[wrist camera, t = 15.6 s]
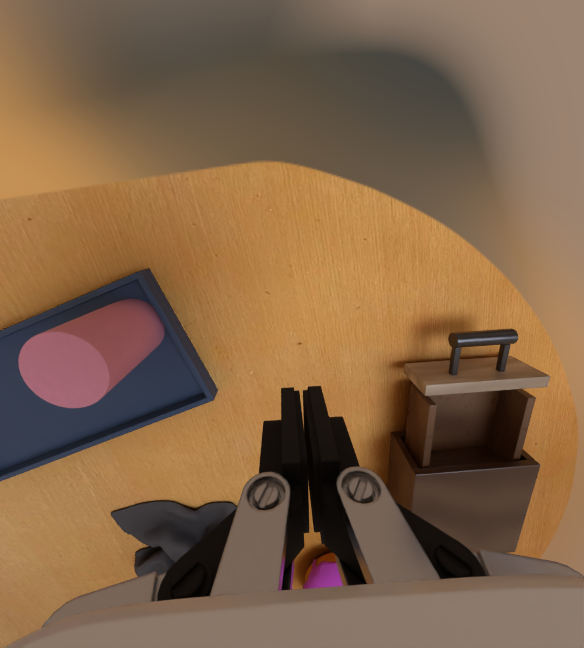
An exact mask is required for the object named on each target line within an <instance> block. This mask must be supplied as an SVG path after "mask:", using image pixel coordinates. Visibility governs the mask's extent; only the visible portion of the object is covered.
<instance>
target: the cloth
mask: <svg viewBox="0 0 584 648" xmlns="http://www.w3.org/2000/svg"><path fill="white" fill-rule="evenodd" d="M236 508H237V507H236V506H235V505H234V504H231V503H224V502H213V503H210V504H206V505H204V506H203V507H201V508H199V509H197V510H192V509H189V508H187V507H184V506H182V505H180V504H177V503H175V502H172V501H153V502H146V503H141V504H137V505H134V506H131V507H127V508H124V509H120V510H117V511H114V512H112V513H111V516H112V517H113V519H114V520H115V521H116V523H117V524H118V525H119V526H120V527H121V529H122V530H123V531H124V532H126V533H127V534H131V535H132V536H134V537H135V538H136V539H138V540H139V541H140V542H142V543H144V544H146V545H149V546H150V547H147V548H144V549H141V550H139V551H137V552H136V554H135V556H136V560H135V565H134V567H135V572H136V574H137V576H138V577H140V576H143V575H146V574H149V573H152V572H155V571H156V572H157V575H160V574H163V573H166V572H167V571H168V570H169V569H170V568H171V567H172V566H173V564H174V563H175V562H176V561H177V560H179V559H180V558H181V557H182V556H183V555H184V554H185V553H186V552H188V551H189V550H190V549H191V548H192V547H193V546H194V545H196V544H197V543H198V542H199V541H200V540H201V539H202V538H203V537H205V536H206V535H207V534H208V533H209V532H210V531H211V530H212V529H214V528H215V527H216V526H217V525H218V524H219V523H220V522H222V521H223V520H224V519H225V518H226V517H227V516H228V515H229V514H231V513H232V512H233V511H234V510H235V509H236Z"/></svg>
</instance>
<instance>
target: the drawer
mask: <svg viewBox="0 0 584 648" xmlns="http://www.w3.org/2000/svg"><path fill="white" fill-rule="evenodd" d="M448 340H449V344H450V346H451V347H452V351H451V358H450V360H447V361H433V362H419V363H405V366H404V373H405V374H406V375H407V377H408V378H409V379H410V380H411V381H412V382H413V383H414V384H410V393H409V404H408V415H407V426H406V437H405V446H406V448H407V449H408V451H409V453H410V454H411V456H412V458H413V459H414V461H415V463H416V464H417V466H418V468H419V469H422V468H435V467H447V466H459V465H472V464H484V463H496V462H508V461H519V460H520V456H521V453H522V449H523V445H524V441H525V437H526V433H527V430H528V426H529V422H530V418H531V414H532V410H533V406H534V403H535V399H536V398H535V397H534V396H532V395H531V394H529V393H528V392H526V391H524V390H523V389H525V388H538V387H547V386H548V383H549V379H550V376H549V375H547V374H545V373H543V372H541V371H539V370H537V369H535V368H533V367H531V366H529V365H528V364H526V363H524V362H522V361H520V360H518V359H516V358H514V357H512V356H508V354H509V349H510V344H514V343H516V342H517V340H518V334H517V332H516V331H515V330H514V329H498V330H483V331H469V332H454V333H450V335H449V338H448ZM486 345H500V349H499V354H498V357H489V358H475V359H461V360H459V359H460V353H461V348H460V347H472V346H486Z"/></svg>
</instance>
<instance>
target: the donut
mask: <svg viewBox="0 0 584 648" xmlns="http://www.w3.org/2000/svg"><path fill="white" fill-rule="evenodd" d="M335 586H343V584H342V581H341V577H340V574H339V571H338V568H337V564H336V559H335V554H334V553H333V552H332V553H328V554H325V555H323V556H321V557H319V558H318V559H314V561H313V563H312V564H311V565H310V566H309V568H308V570H307V572H306V576H305V584H304V585H303V589H309V588H322V587H335Z"/></svg>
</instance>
